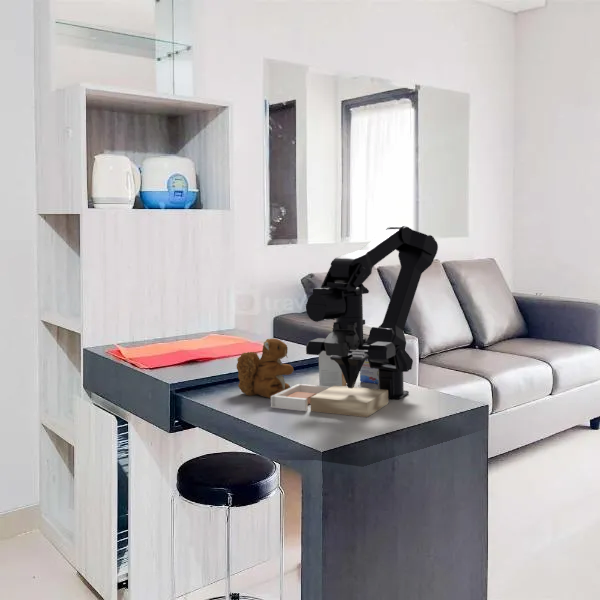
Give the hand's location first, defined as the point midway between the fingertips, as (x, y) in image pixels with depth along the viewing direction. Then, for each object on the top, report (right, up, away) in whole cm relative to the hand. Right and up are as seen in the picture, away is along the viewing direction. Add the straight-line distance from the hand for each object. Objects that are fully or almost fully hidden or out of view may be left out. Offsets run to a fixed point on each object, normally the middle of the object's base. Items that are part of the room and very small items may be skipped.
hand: (351, 388), depth 157 cm
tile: (-11, -2, +6) cm, 13 cm away
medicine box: (+8, -2, +24) cm, 26 cm away
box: (-10, -4, +6) cm, 12 cm away
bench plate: (0, -4, +1) cm, 4 cm away
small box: (-3, -2, +20) cm, 20 cm away
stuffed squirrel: (-19, -4, +15) cm, 25 cm away
